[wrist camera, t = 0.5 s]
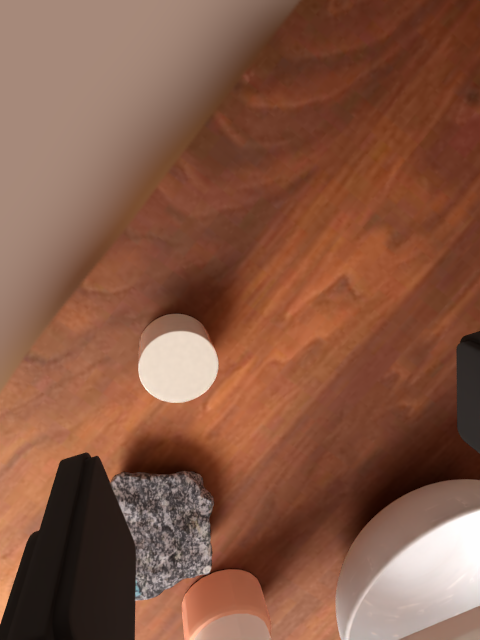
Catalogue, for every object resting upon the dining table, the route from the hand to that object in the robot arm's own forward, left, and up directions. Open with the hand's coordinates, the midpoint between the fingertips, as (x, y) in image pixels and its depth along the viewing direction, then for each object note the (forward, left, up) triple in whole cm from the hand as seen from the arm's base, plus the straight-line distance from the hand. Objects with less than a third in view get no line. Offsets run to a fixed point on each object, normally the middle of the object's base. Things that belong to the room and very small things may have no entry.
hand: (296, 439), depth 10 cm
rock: (+17, -8, -18) cm, 26 cm away
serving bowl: (+30, +14, -18) cm, 38 cm away
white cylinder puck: (+4, -3, -17) cm, 18 cm away
